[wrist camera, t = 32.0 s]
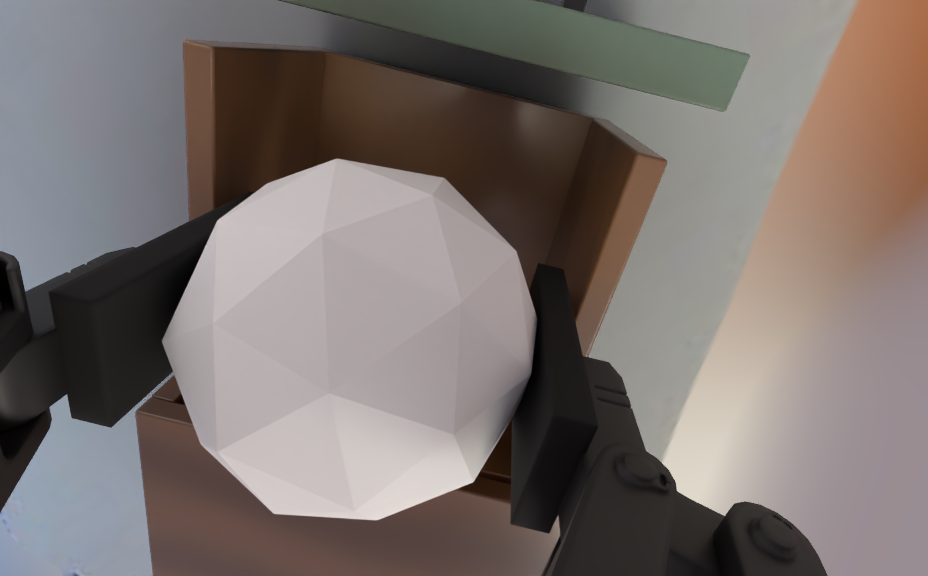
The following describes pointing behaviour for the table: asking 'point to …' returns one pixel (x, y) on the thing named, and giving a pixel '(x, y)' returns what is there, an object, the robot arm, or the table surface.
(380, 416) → the geometric ball
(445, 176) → the drawer
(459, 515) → the cabinet
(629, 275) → the table surface
